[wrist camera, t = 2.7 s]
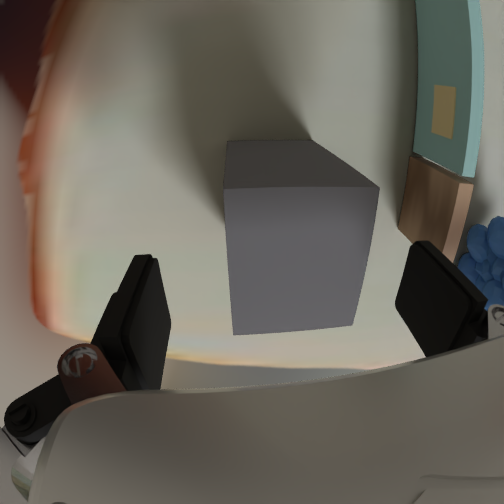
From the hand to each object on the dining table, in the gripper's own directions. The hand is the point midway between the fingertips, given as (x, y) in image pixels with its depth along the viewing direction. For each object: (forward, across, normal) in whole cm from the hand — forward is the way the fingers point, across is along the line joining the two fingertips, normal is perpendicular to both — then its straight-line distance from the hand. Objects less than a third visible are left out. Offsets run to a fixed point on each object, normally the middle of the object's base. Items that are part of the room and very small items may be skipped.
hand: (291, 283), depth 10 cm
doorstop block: (+9, 0, -1) cm, 9 cm away
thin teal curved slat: (+9, -10, -10) cm, 17 cm away
